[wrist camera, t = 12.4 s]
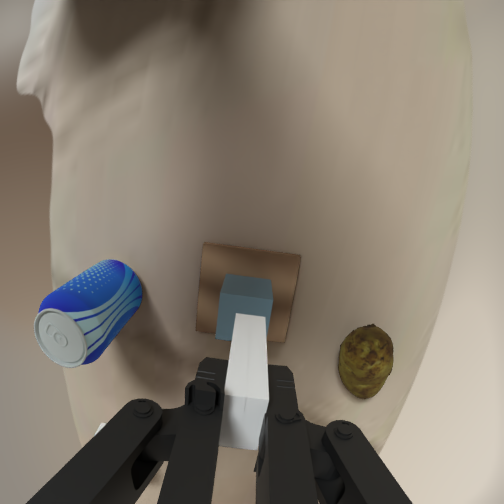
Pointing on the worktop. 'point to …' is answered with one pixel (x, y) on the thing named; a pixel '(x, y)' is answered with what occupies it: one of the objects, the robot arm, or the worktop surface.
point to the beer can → (87, 313)
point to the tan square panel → (251, 265)
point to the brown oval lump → (365, 360)
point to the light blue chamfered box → (242, 302)
